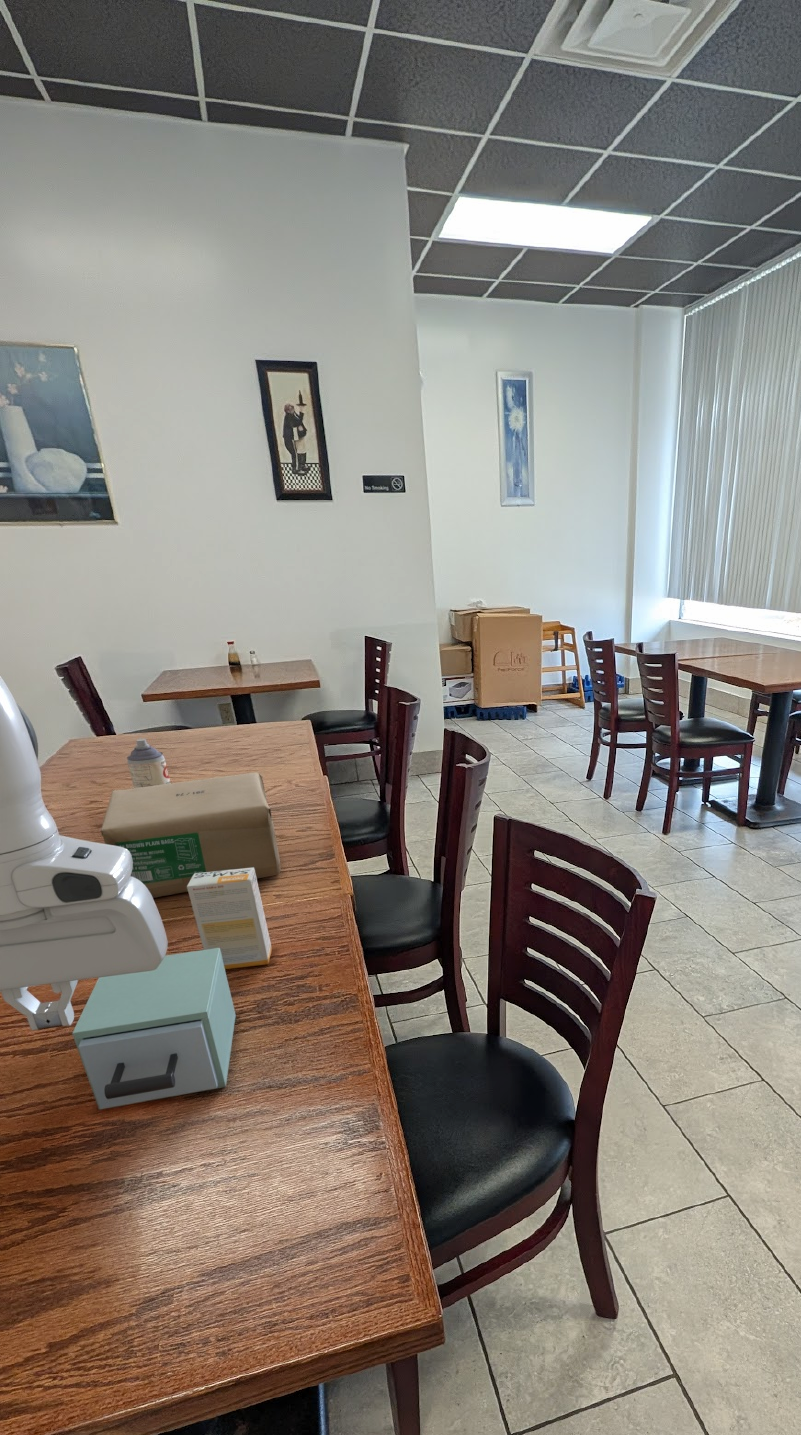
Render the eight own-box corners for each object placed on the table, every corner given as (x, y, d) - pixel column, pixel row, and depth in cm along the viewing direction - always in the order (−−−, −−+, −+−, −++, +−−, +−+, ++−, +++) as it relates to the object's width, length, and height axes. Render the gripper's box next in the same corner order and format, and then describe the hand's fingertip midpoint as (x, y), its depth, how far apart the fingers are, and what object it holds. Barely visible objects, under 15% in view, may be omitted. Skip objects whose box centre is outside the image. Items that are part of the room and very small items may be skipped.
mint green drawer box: (226, 1086, 81) (206, 1011, 77) (99, 1109, 78) (71, 1033, 74) (235, 1015, 94) (219, 947, 90) (126, 1032, 91) (105, 963, 87)
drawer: (212, 1118, 75) (195, 1054, 72) (88, 1141, 73) (64, 1076, 69) (227, 1019, 91) (214, 963, 88) (126, 1036, 89) (108, 979, 85)
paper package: (119, 907, 124) (95, 827, 118) (129, 856, 146) (110, 786, 140) (286, 879, 133) (272, 803, 127) (273, 835, 155) (260, 768, 148)
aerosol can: (186, 836, 156) (163, 740, 147) (151, 844, 152) (125, 745, 143) (178, 828, 161) (155, 734, 152) (144, 835, 157) (118, 739, 149)
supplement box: (273, 949, 109) (256, 865, 103) (269, 965, 105) (251, 879, 99) (213, 955, 108) (193, 871, 102) (207, 972, 104) (185, 885, 98)
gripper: (-177, 907, 53) (-104, 1066, 59) (136, 875, 58) (174, 1026, 64) (-133, 874, 59) (-70, 1023, 65) (150, 847, 63) (184, 989, 69)
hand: (54, 1024), depth 64 cm, fingers closed
